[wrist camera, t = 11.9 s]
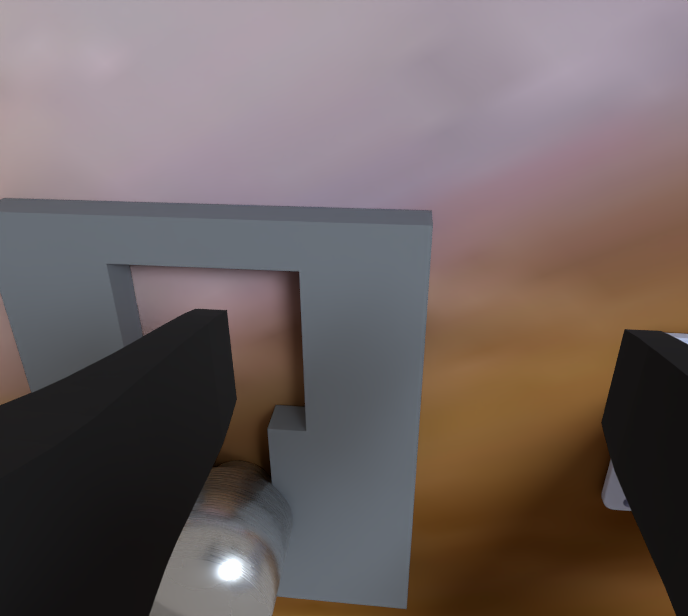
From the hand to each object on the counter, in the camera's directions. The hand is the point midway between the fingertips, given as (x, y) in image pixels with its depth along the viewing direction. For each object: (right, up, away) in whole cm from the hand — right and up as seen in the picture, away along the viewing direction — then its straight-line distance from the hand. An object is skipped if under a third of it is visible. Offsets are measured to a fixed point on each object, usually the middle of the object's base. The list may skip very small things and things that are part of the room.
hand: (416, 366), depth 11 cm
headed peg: (-6, -7, +15) cm, 17 cm away
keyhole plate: (-6, -3, +13) cm, 15 cm away
